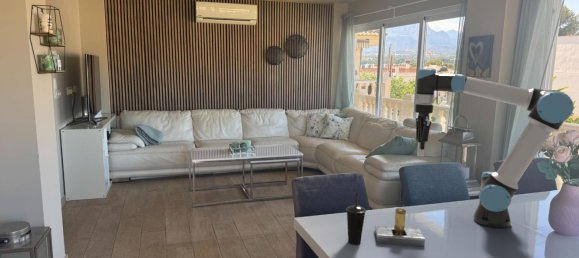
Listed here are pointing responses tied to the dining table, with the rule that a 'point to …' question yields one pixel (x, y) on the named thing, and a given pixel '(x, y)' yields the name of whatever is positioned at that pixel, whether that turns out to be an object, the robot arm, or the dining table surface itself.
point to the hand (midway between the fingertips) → (420, 156)
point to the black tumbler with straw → (355, 223)
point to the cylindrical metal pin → (399, 221)
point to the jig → (399, 236)
